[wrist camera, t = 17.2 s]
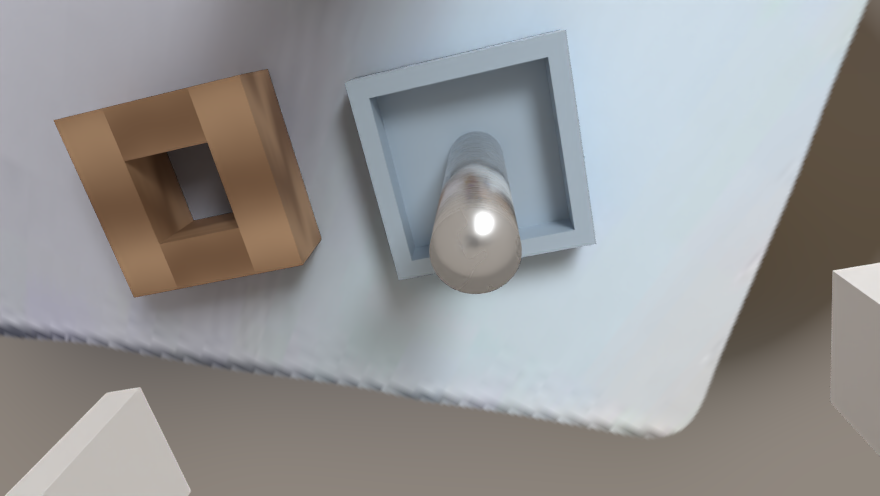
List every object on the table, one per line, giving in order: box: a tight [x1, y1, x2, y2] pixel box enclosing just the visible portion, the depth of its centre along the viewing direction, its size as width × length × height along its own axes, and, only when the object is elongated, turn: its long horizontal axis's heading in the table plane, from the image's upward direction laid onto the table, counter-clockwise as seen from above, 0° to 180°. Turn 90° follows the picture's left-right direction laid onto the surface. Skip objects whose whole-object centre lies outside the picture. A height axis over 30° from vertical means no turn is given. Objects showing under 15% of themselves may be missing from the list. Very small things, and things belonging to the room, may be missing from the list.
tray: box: [345, 30, 596, 280], centre depth 31 cm, size 11×11×2 cm
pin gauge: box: [429, 131, 522, 294], centre depth 25 cm, size 3×3×14 cm
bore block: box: [54, 69, 321, 298], centre depth 32 cm, size 10×10×4 cm
